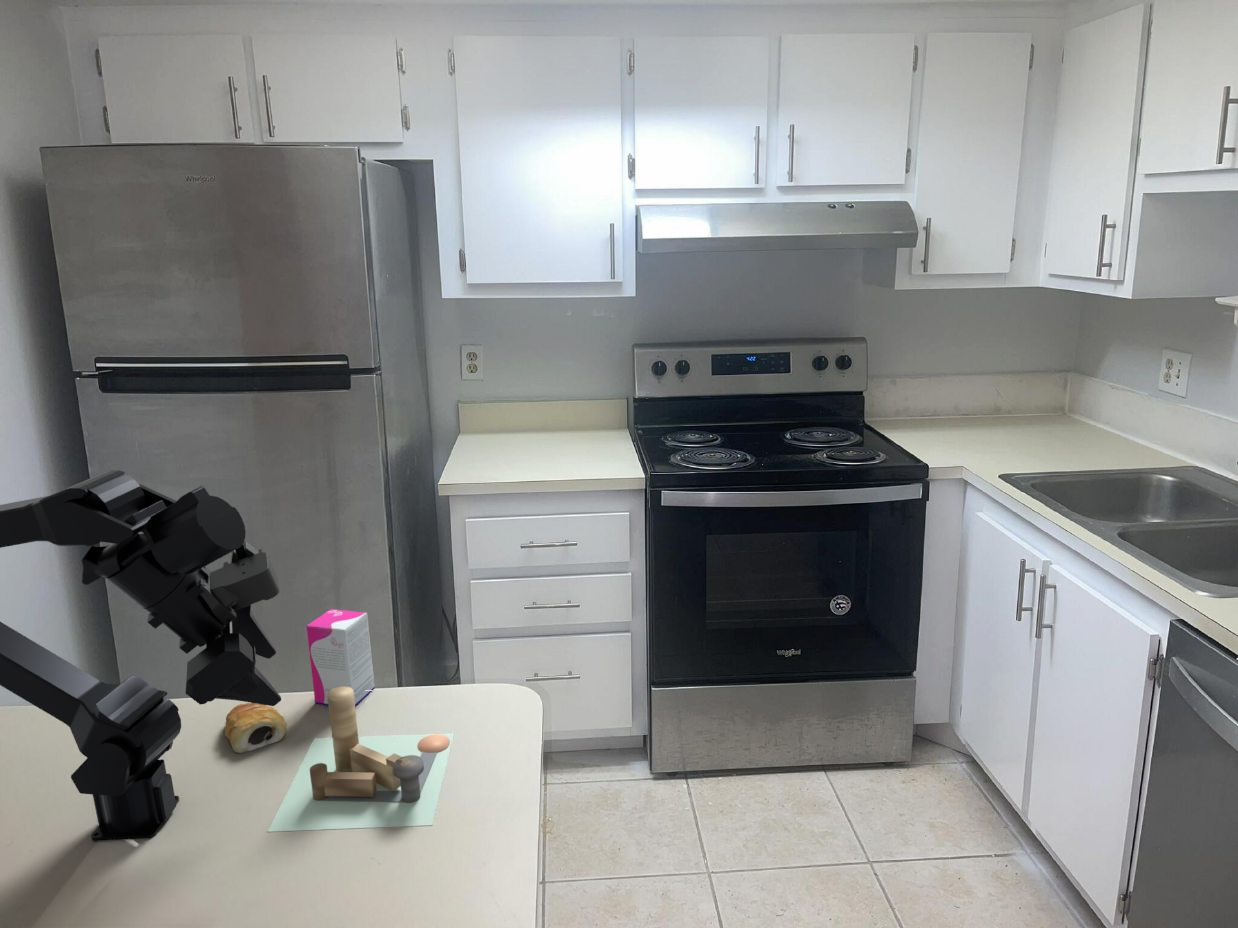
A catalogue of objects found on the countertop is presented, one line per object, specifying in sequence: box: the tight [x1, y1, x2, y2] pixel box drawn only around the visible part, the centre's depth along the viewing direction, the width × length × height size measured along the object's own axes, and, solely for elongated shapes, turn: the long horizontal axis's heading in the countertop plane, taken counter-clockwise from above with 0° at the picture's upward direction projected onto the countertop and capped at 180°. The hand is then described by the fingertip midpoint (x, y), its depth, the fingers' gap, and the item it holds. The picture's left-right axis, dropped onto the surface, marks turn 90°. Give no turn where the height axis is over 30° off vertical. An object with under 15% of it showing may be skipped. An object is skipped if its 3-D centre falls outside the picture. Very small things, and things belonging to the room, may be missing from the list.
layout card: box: [267, 732, 455, 833], centre depth 101 cm, size 17×17×1 cm
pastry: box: [224, 702, 288, 754], centre depth 110 cm, size 9×7×4 cm
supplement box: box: [306, 608, 376, 708], centre depth 117 cm, size 6×6×12 cm
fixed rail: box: [310, 763, 421, 803], centre depth 97 cm, size 12×2×4 cm, turn 87°
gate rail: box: [327, 686, 424, 791], centre depth 99 cm, size 13×3×10 cm, turn 57°
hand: (275, 677), depth 95 cm, fingers open, 9 cm apart
